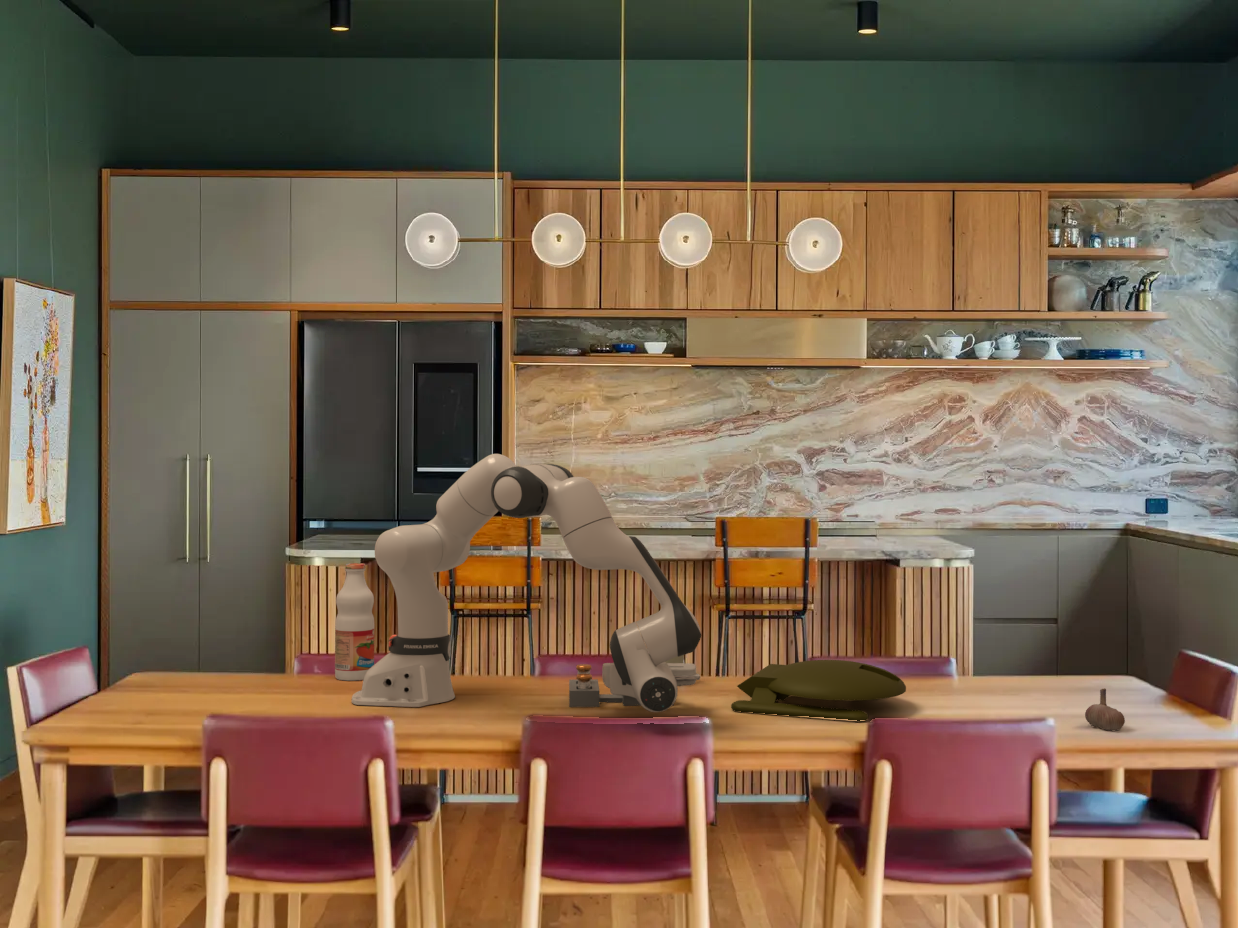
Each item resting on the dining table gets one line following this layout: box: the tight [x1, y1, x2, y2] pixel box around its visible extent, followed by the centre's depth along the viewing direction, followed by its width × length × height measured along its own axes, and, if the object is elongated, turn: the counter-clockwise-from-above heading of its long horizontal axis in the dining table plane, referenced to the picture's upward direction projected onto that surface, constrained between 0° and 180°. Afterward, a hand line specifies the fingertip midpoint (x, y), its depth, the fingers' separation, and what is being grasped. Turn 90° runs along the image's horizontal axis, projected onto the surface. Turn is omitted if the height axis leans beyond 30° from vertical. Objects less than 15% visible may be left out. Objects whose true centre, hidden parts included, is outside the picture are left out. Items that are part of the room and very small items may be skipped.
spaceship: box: [730, 659, 907, 721], centre depth 242 cm, size 35×31×10 cm
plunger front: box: [576, 673, 593, 689], centre depth 241 cm, size 3×3×6 cm
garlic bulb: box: [1084, 688, 1126, 731], centre depth 220 cm, size 8×7×8 cm
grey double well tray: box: [568, 678, 675, 708], centre depth 245 cm, size 23×13×4 cm, turn 93°
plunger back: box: [575, 663, 592, 674], centre depth 247 cm, size 3×3×6 cm
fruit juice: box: [334, 562, 376, 682], centre depth 271 cm, size 9×9×28 cm
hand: (647, 667), depth 243 cm, fingers open, 8 cm apart
